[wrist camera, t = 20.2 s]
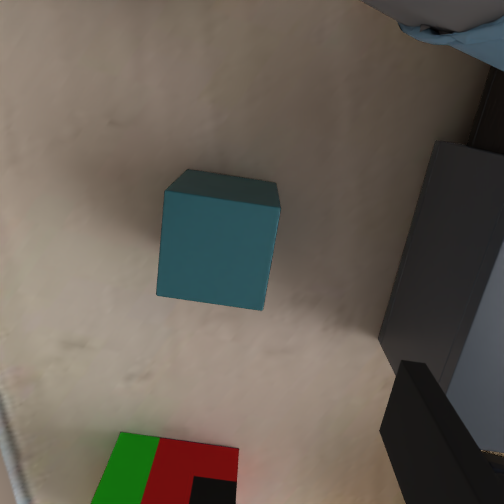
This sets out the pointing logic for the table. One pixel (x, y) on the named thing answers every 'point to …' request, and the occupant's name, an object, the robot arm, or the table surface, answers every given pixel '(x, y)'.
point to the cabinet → (456, 287)
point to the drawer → (490, 115)
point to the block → (218, 239)
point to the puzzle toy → (168, 472)
